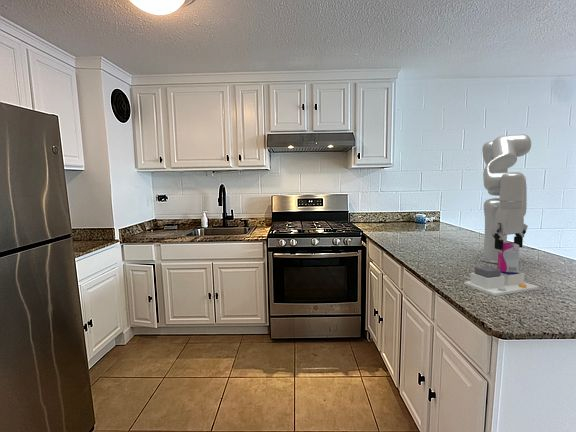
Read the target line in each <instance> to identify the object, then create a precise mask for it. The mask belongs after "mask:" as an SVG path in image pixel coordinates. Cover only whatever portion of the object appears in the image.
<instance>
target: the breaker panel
mask: <svg viewBox="0 0 576 432" xmlns="http://www.w3.org/2000/svg"><path fill="white" fill-rule="evenodd" d="M518 272H519V273H520V274H514V275H506V274H503V273H500V276H499V277H492V278H486V277H483V276H480V275H477V274H475V271H474V272H470V280H467V281H464V285H465V286H468V287H469V288H473V289H476V290H478V291H481V292H483V293H486V294H488V295H491V296H492V297H498V296H504V295H511V294H515V293H523V292H529V291H535V290H539V289H540V286H539V285H535V284H531V283H528V282H526V281H525V278H526V277H525V276H526V274H525V272H520V271H518Z"/></svg>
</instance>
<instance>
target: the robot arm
mask: <svg viewBox="0 0 576 432" xmlns="http://www.w3.org/2000/svg"><path fill="white" fill-rule="evenodd" d="M531 147H532V140H531V137H530V136H529V135H527V134H523V133H521V134H508V135H500V136H497V137H496V138H495V139H493V140H490V141H487V142H485V143H483V145H482V150H481V151H482V152H481V153H482V158H483V161H484V163H485V166H484V169H483V174H482V178H483V179H482V180H483V186H484V188H485V190H486V191H487V193H488V195H490V196H495V198H489V199H486V200H485V201H484V202H483V213H484V237H483V239H484V240H483V241H484V242H483V255H481V256H480V257H479V259H480V261H482V262H486V263H490V264H498V249H499V250H503V242H508V236H510V235H514V236H513V243H516V244H518V245H519V249H520V248H523V242H524V241H523V239H524V238H525V234H526V233H527V229H528V227H529V226H528V225H527V224H525V221H524V219H525V218H524V217H525V216H526V214H527V207H528V206H527V199H528V198H527V197H528V196H527V177H526V175H524V174H523V173H522V172H519V171H518V172H517V171H516V172H514V171H513V172H512V171H511V172H510V171H509V172H508V170H509V168H511V167H513V166H515V164H516V163H517V161H518V157H524V156H525V155H527V154H528V153H529V152H530V151H531ZM496 196H497V197H498V198H497V197H496Z"/></svg>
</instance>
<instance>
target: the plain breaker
mask: <svg viewBox="0 0 576 432" xmlns="http://www.w3.org/2000/svg"><path fill="white" fill-rule="evenodd" d="M497 268H498V267H494V266H493V267H492V266H489V265H482V266H480V265H479V266H475V267H474V272H475V274H477V275H480V276H483V277H486V278H492V277H499V276H500V272H501V270H500V269H497Z"/></svg>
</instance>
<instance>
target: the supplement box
mask: <svg viewBox="0 0 576 432" xmlns="http://www.w3.org/2000/svg"><path fill="white" fill-rule="evenodd" d="M519 261H520V247H519V245H518V244H516V243H514V242H508V241H507V242H503V250H499V249H498V263H497V267H496V268H497V269H500V270H501V273H510V274H518V272H519V267H520V264H519Z"/></svg>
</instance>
